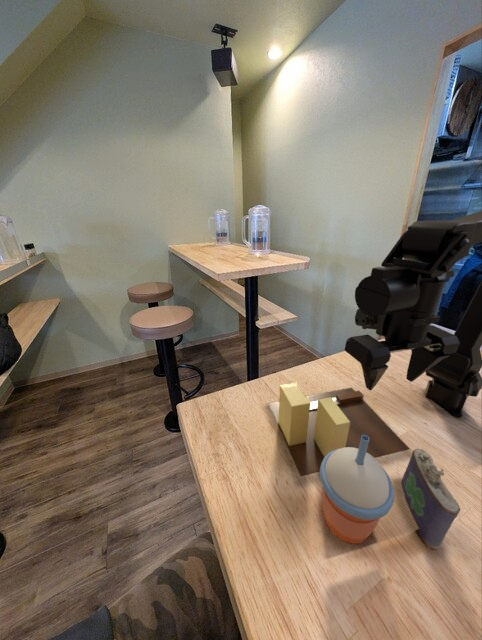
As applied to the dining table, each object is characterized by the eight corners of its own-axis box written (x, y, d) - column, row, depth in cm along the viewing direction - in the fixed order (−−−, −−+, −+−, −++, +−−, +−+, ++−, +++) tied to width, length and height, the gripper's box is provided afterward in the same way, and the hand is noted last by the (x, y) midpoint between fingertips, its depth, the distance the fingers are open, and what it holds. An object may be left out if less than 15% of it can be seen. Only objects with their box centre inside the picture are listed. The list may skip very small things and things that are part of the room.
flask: (443, 552, 34) (470, 504, 30) (420, 548, 35) (443, 501, 30) (412, 484, 43) (429, 439, 38) (393, 482, 43) (408, 437, 39)
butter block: (294, 419, 54) (296, 382, 50) (306, 442, 49) (310, 403, 45) (278, 422, 54) (279, 385, 50) (289, 446, 48) (291, 406, 44)
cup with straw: (343, 576, 32) (368, 488, 25) (301, 506, 40) (310, 423, 33) (393, 540, 36) (428, 454, 28) (345, 482, 43) (363, 402, 36)
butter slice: (325, 435, 50) (330, 397, 46) (342, 463, 45) (350, 422, 41) (313, 438, 50) (318, 399, 46) (329, 466, 44) (336, 424, 40)
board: (350, 392, 64) (351, 387, 63) (408, 454, 48) (410, 448, 47) (268, 408, 60) (268, 403, 59) (300, 481, 44) (300, 476, 43)
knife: (357, 393, 61) (358, 389, 60) (363, 400, 59) (364, 396, 58) (300, 405, 58) (300, 401, 58) (304, 411, 56) (304, 407, 56)
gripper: (415, 287, 49) (395, 354, 56) (332, 294, 45) (321, 367, 51) (477, 307, 40) (444, 386, 46) (379, 319, 35) (357, 405, 41)
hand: (389, 384), depth 46 cm, fingers open, 9 cm apart
